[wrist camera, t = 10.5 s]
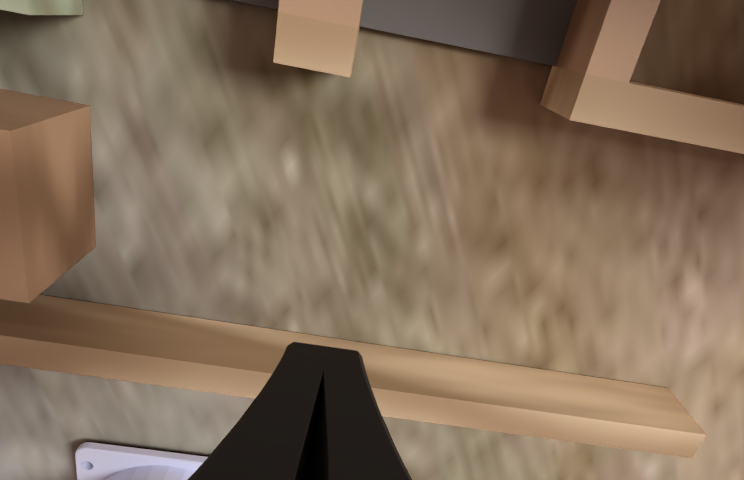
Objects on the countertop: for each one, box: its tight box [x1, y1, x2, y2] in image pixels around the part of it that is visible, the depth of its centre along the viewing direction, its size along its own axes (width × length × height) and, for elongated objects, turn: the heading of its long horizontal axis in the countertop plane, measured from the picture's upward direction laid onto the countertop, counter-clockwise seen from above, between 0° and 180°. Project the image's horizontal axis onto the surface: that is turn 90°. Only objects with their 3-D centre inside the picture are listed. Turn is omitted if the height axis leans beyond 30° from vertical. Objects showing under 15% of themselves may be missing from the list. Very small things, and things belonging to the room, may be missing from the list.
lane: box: [0, 0, 744, 458], centre depth 14 cm, size 18×31×4 cm, turn 79°
